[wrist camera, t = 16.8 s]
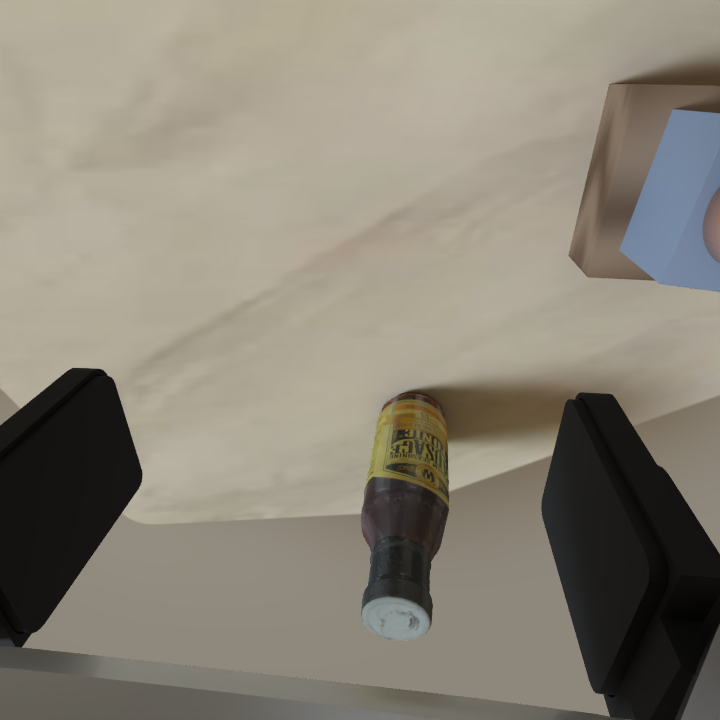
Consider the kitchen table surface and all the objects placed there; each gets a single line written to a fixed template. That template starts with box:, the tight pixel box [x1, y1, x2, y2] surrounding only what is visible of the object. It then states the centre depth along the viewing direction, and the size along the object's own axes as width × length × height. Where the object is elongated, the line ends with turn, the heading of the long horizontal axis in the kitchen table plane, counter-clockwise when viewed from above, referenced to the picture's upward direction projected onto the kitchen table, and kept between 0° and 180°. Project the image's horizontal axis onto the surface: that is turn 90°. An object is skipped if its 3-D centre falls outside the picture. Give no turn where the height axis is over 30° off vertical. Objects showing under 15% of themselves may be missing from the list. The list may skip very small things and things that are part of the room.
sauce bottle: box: [361, 393, 449, 641], centre depth 36 cm, size 6×6×20 cm
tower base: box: [568, 84, 720, 281], centre depth 31 cm, size 11×11×5 cm
